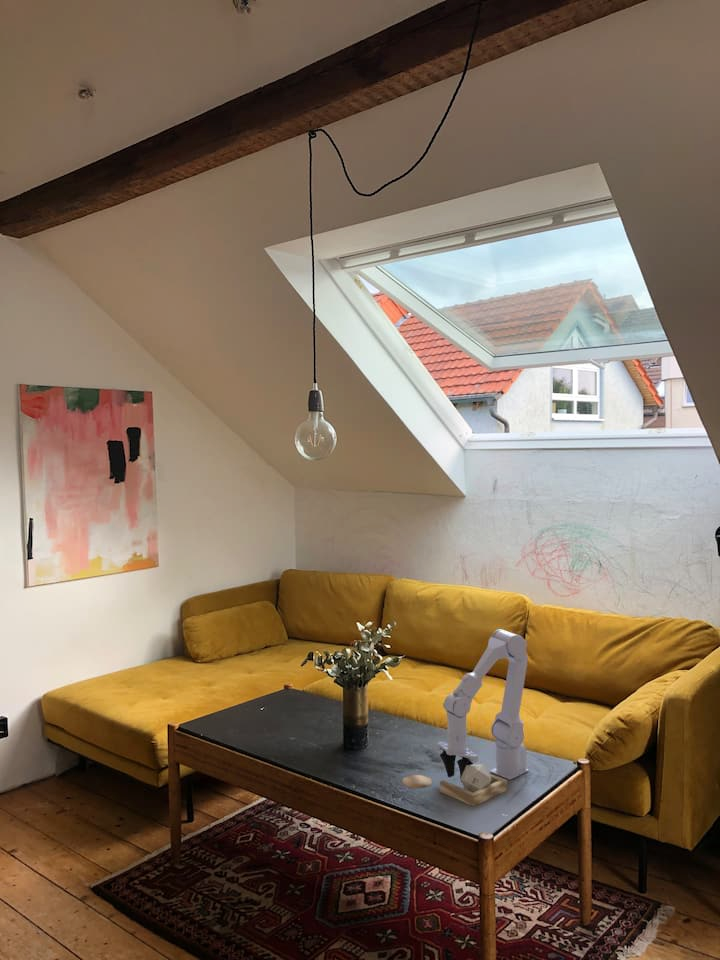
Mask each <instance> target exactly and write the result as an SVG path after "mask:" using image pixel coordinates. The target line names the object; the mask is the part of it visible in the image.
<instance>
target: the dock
mask: <svg viewBox="0 0 720 960" xmlns="http://www.w3.org/2000/svg"><path fill="white" fill-rule="evenodd" d="M488 773H489V772H488ZM489 775H490V777H491V778H492V780H491V782H490V784H489V785H488V786H486V787H484V788H482V789H480V790H478V791H475V792H470V791H468V790H466V789H465V788H463V787H461V786H459V785H458V786H457V785H456V784H453V783H451V782H448V781H446V780H443V779H442V780H441V781H439V792H440V793H442V794H444V795H447V796H449V797H451V798H454V799H456V800H458V801H461V802H462V803H465V804H467V805H469V806H472V807H475V806H477V805H480V804H482V803H483V802H486V801H488V800H490V799H491V798H495V797H496V796H498V795H500V794H502V793H504V792H506V791H508V779H506V778H504V777H503V778H502V777H501V776H498V775H496V774H493V773H491V772H490V773H489Z"/></svg>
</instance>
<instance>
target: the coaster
mask: <svg viewBox="0 0 720 960" xmlns="http://www.w3.org/2000/svg"><path fill="white" fill-rule="evenodd" d="M401 783H402V785H404V786H405V787H407V788H410V789H411V788H412V789H424V788H425V789H426V788H427V787H430V786H431V785H432V783H433V782H432V779H431V778H430V777H428V776H425V775H422V774H421V775H419V774H413V775H408V776H405V777H404V778H402V781H401Z"/></svg>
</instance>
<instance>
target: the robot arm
mask: <svg viewBox="0 0 720 960" xmlns="http://www.w3.org/2000/svg"><path fill="white" fill-rule="evenodd" d="M491 635H492V636H490V638H489V639H488V644H487V648H486V649H485V650H484V652H483V654H482V655H481V657H480V659H479V660H478V662H477V664H476V665H475V667H474V669H473V671H472V672H468V673H465V675H463V676H462V678H461V681H460V683H459V684H458V685H457V687H456V688H455V689H453V691H452V693H449V694H448V695H447V696H446V697H445V699H444V702H443V703H442V705H443V706H442V707H443V708H444V710H445V712H446V718H447V719H446V721H447V723H446V725H447V729H446V730H447V738H446V739H447V742H444V741H439V742H437V744H436V745H437V750H439V751H442V752H441V753H440V754H439V758H440V759H441V760H442V762H443V764H444V767H445V772H446V775H447V777H448V778H452V777H454V776H455V767H456V766H455V764H456V762H457V765H458V768H459V769H458V770H459V778H460V779H461V777H462V774H463V772H464V769H465V767H466V765H474V764H476V763H477V762H478V761H479V755H478V754H476V753H474V752H473V751H472V750H470V749H469V748H468V746H467V741H468V740H467V739H468V738H467V715H468V713H470V712H471V706H472V705H471V704H472V703H473V699H474V697H476V695H477V693H478V692H479V691H480V689H481V688H482V687H483V680H482V679H483V678H484V677H485V676H486V674H487V673H488V672H489V671H490V670H491V668H492V667H493V666H494V665H495V663H496V662H497V661H498V660H499V659H500V660H501V659H502V660H503V659H507V660H508V667H507V672H506V673H507V674H506V680H505V686H504V691H503V692H504V693H503V697H502V704H501V705H502V706H501V709H500V711H499V712H497V714H495V718H494V721H493V723H492V724H491V727H490V732H491V733H490V734H491V736H492V738H494V742H495V768H493V769H490V771H489V772H490V773H491V774H493V775H496V776H498V777H501V778H502V777H503V778H504V779H506V780H513V779H514V778H517V777H518V776H521V775H523V774H525V773H527V772H529V771H530V770H529V768H527V748H526V746H525V744H524V743H523V742H524V741H525V733H524V732H525V731H524V725H525V724H524V722H523V720H522V717H520V711H521V705H522V698H523V693H524V688H525V687H524V686H525V680H526V673H527V667H528V659H529V657H528V652H527V646H528V642H527V641H526V639H525V638H523V636H522V635H520V634H516V633H513V632H510V631H508V630H505V629H503V628H499V629H496V630H495V631H494V632H493V633H492V634H491ZM457 757H460V758H461V759H458V760H457V761H456V758H457ZM460 779H459V780H460ZM460 783H462V782H461V781H460Z"/></svg>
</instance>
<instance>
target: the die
mask: <svg viewBox="0 0 720 960" xmlns="http://www.w3.org/2000/svg"><path fill="white" fill-rule="evenodd" d="M459 780H460V783H461V782H462V785H463V787H464V789H465V790H468V791H470V792H475V791H478V790H480V789H482V788H484V787H486V786H488V785H489V784H490V782H491V780H492V778H491V777H490V775H489V771H488V770H487V768H486V766H485V765H484V764H483V763H481V764H480V763H477V764H476V763H473V764H472V765H466V767H465V769H464V772H463V774H462V777H461V779H459Z"/></svg>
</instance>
